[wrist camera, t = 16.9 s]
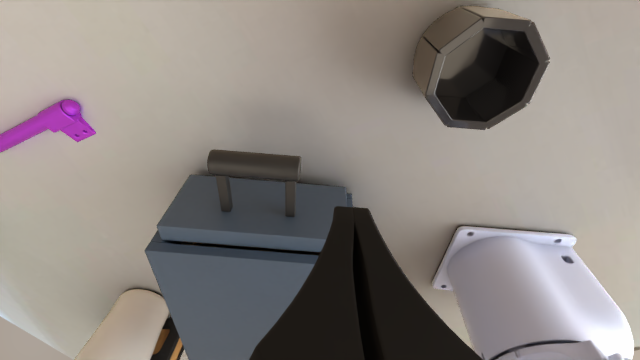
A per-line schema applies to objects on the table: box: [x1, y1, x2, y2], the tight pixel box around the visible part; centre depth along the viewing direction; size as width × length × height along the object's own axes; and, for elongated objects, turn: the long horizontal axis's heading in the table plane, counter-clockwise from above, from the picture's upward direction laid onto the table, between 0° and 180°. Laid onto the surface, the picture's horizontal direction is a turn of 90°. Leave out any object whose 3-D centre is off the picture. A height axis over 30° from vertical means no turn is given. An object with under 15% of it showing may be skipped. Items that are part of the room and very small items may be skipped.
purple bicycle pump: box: [0, 100, 96, 152], centre depth 23 cm, size 3×1×16 cm
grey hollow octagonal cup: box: [412, 6, 550, 130], centre depth 16 cm, size 5×5×4 cm
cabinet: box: [145, 193, 353, 360], centre depth 25 cm, size 14×12×7 cm
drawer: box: [157, 150, 347, 255], centre depth 23 cm, size 18×11×5 cm, turn 176°
